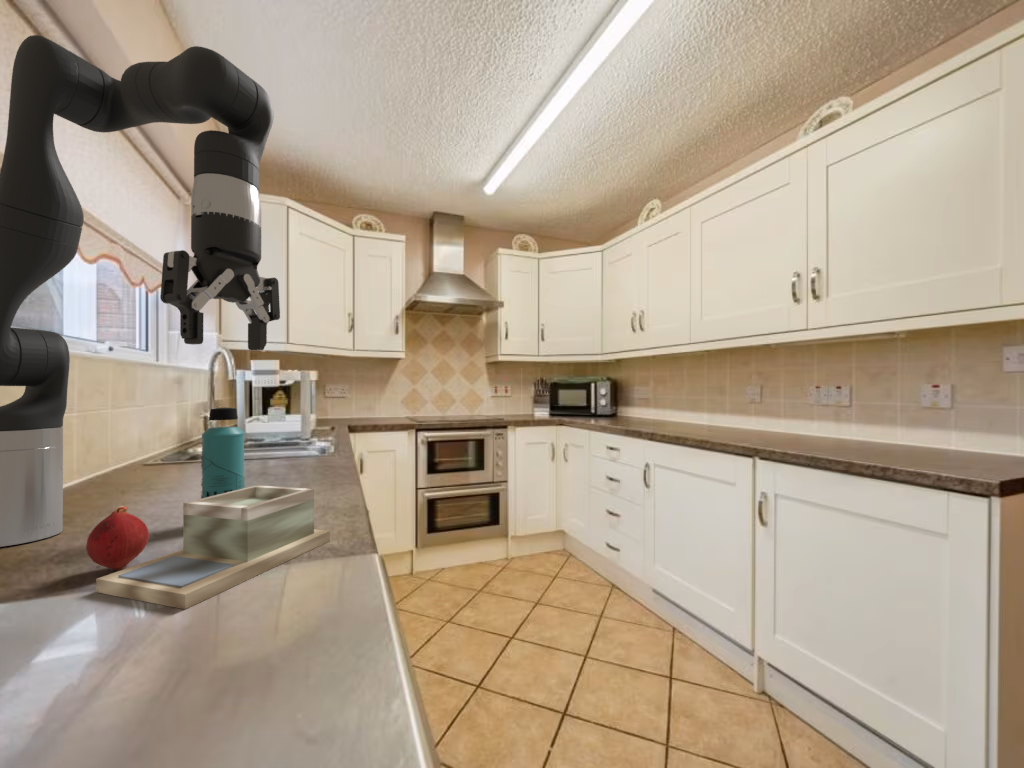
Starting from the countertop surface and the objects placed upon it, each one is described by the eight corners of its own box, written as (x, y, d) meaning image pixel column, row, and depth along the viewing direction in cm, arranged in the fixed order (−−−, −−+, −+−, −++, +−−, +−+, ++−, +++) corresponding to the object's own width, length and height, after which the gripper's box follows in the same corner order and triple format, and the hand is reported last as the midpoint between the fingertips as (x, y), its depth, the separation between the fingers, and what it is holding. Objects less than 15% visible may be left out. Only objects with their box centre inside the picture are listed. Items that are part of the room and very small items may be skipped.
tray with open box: (96, 592, 48) (96, 520, 49) (257, 533, 68) (257, 482, 69) (185, 609, 44) (185, 531, 44) (329, 540, 64) (329, 487, 64)
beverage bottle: (240, 514, 79) (240, 406, 80) (250, 522, 75) (249, 407, 75) (197, 522, 75) (197, 408, 75) (204, 531, 70) (204, 408, 70)
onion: (110, 581, 51) (111, 514, 51) (73, 577, 52) (73, 512, 53) (159, 562, 57) (159, 501, 57) (125, 559, 58) (125, 500, 58)
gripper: (253, 242, 63) (253, 353, 63) (145, 202, 49) (144, 342, 49) (294, 237, 61) (294, 351, 60) (192, 193, 47) (192, 339, 47)
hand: (227, 347), depth 55 cm, fingers open, 8 cm apart
